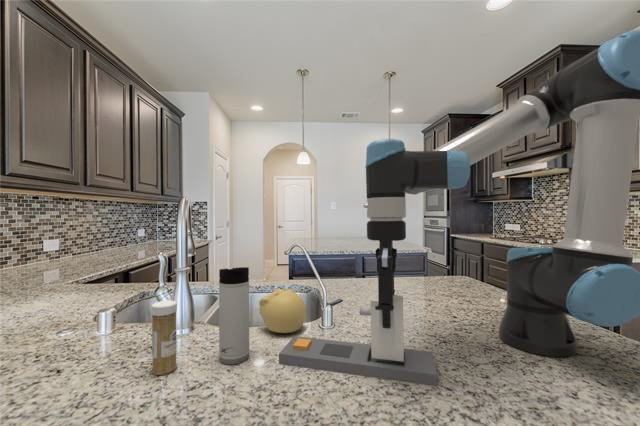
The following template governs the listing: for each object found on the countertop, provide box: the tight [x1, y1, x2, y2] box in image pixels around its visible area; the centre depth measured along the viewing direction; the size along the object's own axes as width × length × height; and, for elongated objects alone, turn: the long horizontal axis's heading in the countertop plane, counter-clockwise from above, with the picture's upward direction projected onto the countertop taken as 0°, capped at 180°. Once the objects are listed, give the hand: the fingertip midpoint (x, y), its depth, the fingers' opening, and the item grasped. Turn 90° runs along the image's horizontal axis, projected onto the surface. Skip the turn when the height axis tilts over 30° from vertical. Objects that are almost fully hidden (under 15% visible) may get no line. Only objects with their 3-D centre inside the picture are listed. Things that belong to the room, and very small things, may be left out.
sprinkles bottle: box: [150, 299, 178, 376], centre depth 60 cm, size 5×5×14 cm
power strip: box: [278, 335, 438, 387], centre depth 61 cm, size 30×9×4 cm, turn 74°
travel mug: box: [218, 266, 250, 365], centre depth 65 cm, size 6×7×20 cm
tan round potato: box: [258, 288, 307, 334], centre depth 81 cm, size 12×12×11 cm
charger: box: [359, 293, 405, 362], centre depth 59 cm, size 8×5×11 cm, turn 74°
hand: (387, 337), depth 59 cm, fingers closed on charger, 5 cm apart
